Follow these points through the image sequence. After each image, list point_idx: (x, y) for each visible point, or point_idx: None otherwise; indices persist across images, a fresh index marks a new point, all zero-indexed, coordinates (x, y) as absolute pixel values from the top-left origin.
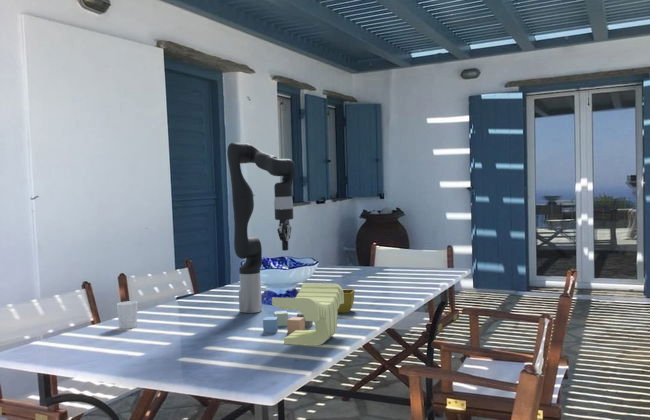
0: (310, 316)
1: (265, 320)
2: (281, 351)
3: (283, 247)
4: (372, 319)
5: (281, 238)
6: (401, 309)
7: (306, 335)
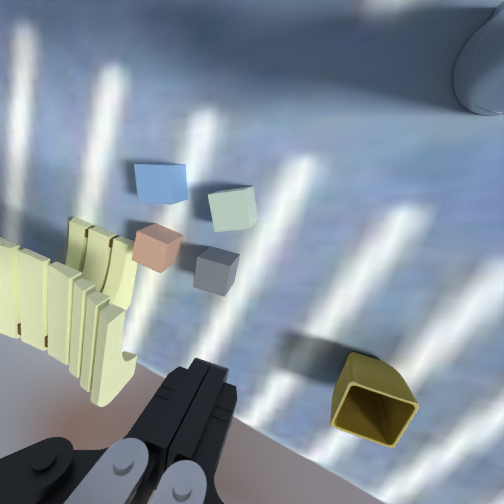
0: None
1: (136, 171)
2: (28, 213)
3: (164, 384)
4: (257, 397)
5: (24, 474)
6: (344, 468)
7: (77, 264)
